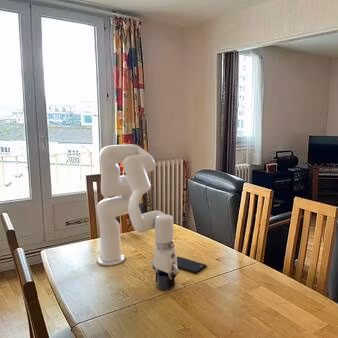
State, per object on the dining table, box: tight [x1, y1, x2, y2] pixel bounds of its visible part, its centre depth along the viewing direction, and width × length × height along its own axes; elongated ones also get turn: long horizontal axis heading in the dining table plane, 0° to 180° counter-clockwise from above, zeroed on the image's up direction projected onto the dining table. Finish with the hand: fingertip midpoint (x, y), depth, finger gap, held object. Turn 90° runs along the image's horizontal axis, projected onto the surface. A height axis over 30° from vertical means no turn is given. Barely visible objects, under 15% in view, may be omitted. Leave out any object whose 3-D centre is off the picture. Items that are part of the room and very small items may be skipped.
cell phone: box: [177, 256, 207, 274], centre depth 159 cm, size 9×18×1 cm, turn 59°
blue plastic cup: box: [156, 271, 173, 291], centre depth 139 cm, size 7×7×6 cm
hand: (165, 283), depth 139 cm, fingers open, 6 cm apart
